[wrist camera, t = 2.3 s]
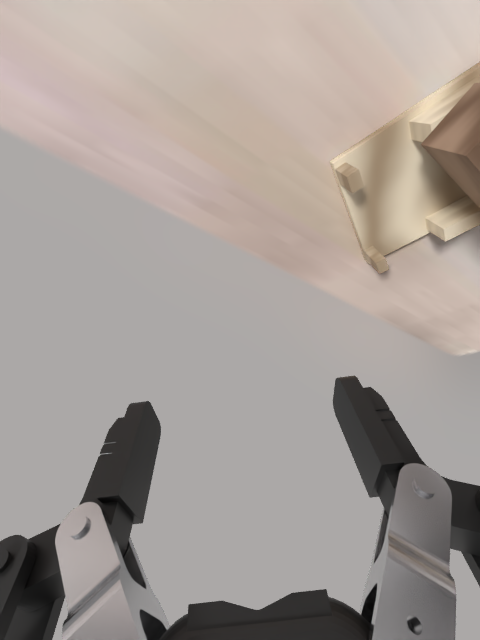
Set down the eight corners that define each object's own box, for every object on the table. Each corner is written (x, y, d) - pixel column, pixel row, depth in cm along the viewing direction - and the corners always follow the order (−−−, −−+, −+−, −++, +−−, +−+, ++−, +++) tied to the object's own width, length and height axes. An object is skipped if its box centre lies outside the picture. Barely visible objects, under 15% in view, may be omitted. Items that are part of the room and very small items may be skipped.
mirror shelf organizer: (606, -22, 18) (683, -46, 15) (574, 150, 25) (624, 158, 22) (329, 161, 24) (344, 171, 21) (364, 259, 31) (380, 277, 28)
